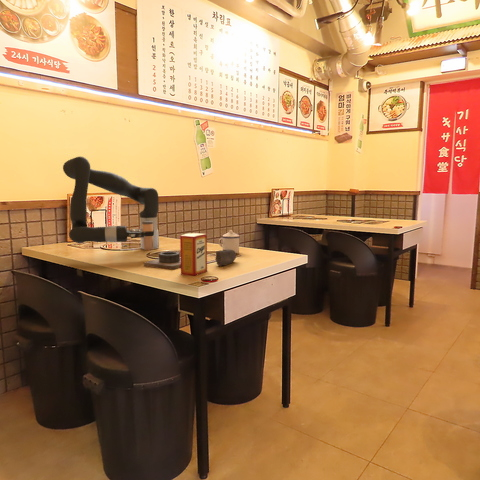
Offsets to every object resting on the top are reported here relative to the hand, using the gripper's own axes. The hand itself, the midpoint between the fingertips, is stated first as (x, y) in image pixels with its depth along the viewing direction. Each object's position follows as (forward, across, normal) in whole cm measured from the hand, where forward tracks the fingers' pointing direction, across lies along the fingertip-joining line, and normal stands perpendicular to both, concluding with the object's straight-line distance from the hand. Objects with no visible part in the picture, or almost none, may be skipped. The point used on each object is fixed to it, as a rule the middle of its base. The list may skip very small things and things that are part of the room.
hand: (153, 232), depth 188 cm
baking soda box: (+16, -32, +13) cm, 38 cm away
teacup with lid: (+38, +11, +13) cm, 42 cm away
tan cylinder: (-3, 0, +8) cm, 8 cm away
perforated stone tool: (+32, -18, +13) cm, 39 cm away
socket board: (+7, -14, +13) cm, 20 cm away
